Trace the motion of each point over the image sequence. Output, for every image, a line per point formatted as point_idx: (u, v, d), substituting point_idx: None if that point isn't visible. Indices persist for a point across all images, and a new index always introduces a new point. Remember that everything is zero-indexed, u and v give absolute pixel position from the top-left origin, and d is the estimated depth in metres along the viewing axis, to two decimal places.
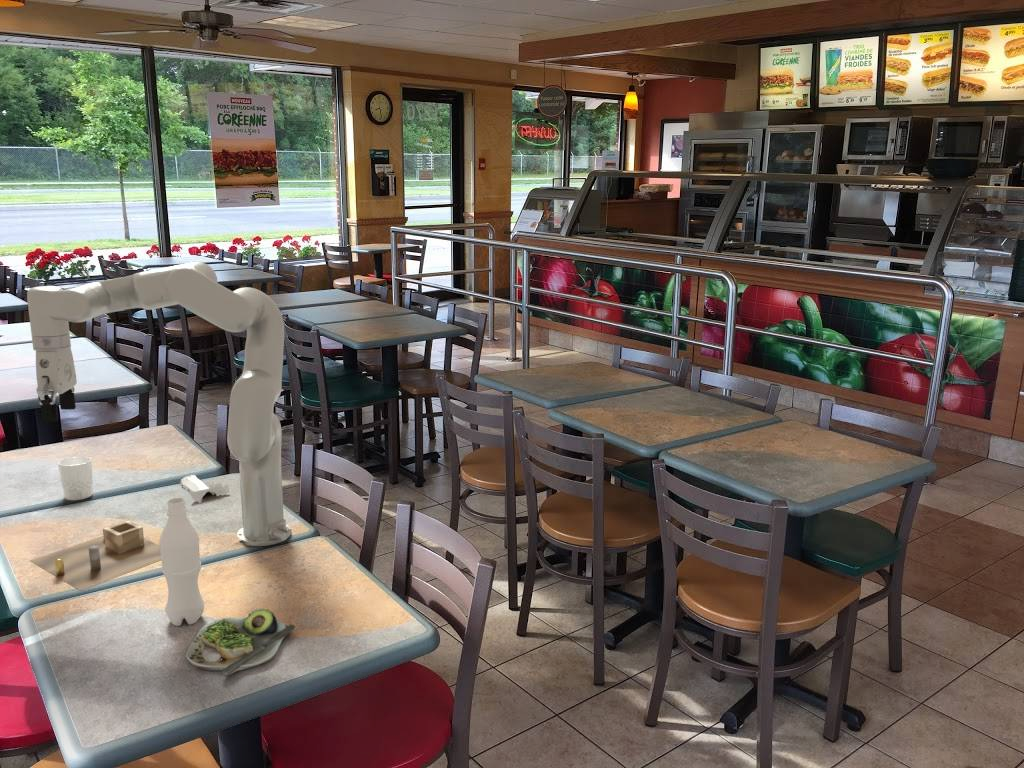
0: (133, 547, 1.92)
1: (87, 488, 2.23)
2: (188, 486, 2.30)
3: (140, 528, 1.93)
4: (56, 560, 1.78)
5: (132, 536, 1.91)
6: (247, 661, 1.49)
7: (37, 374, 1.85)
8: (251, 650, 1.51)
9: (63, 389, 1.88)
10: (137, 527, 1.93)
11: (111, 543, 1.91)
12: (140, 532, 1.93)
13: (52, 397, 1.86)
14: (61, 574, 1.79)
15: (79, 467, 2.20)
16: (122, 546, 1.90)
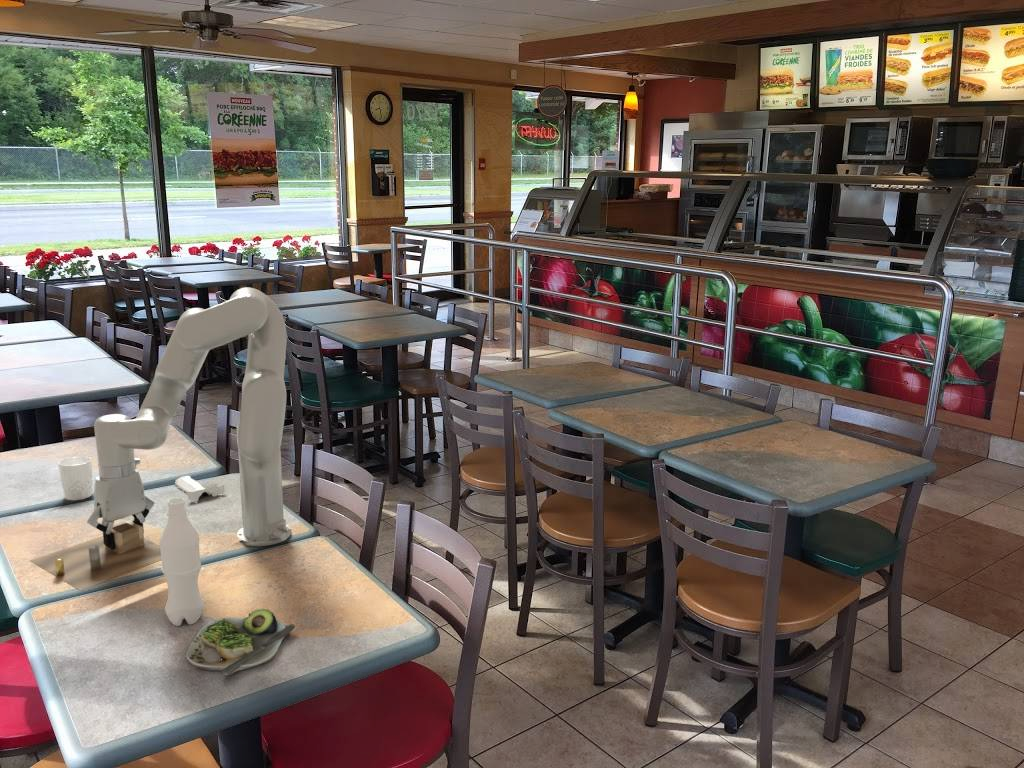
0: (133, 547, 1.92)
1: (87, 488, 2.23)
2: (183, 487, 2.30)
3: (140, 528, 1.93)
4: (56, 560, 1.78)
5: (132, 536, 1.91)
6: (247, 661, 1.49)
7: (143, 491, 1.93)
8: (251, 650, 1.51)
9: None
10: (137, 527, 1.93)
11: None
12: (140, 532, 1.93)
13: None
14: (61, 574, 1.79)
15: (79, 467, 2.20)
16: (122, 546, 1.90)
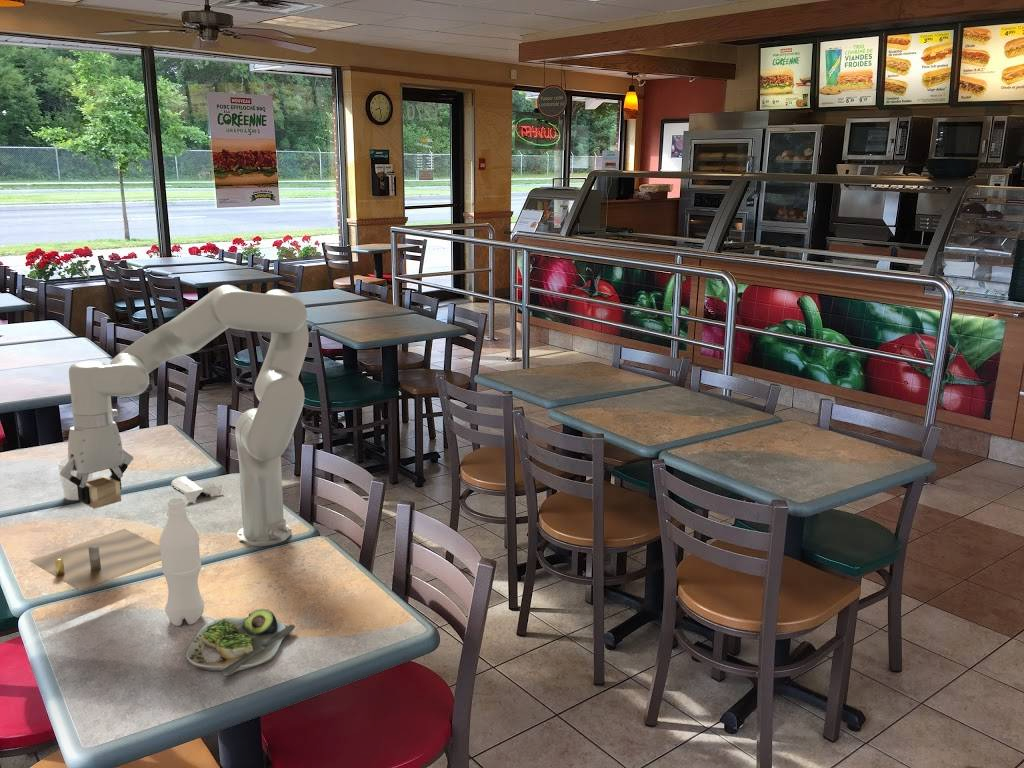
0: (109, 503, 1.82)
1: None
2: (180, 487, 2.29)
3: (117, 483, 1.82)
4: (56, 560, 1.78)
5: (108, 490, 1.81)
6: (247, 661, 1.49)
7: (121, 444, 1.83)
8: (251, 650, 1.51)
9: None
10: (114, 482, 1.82)
11: None
12: (116, 487, 1.83)
13: None
14: (61, 574, 1.79)
15: None
16: (97, 501, 1.80)
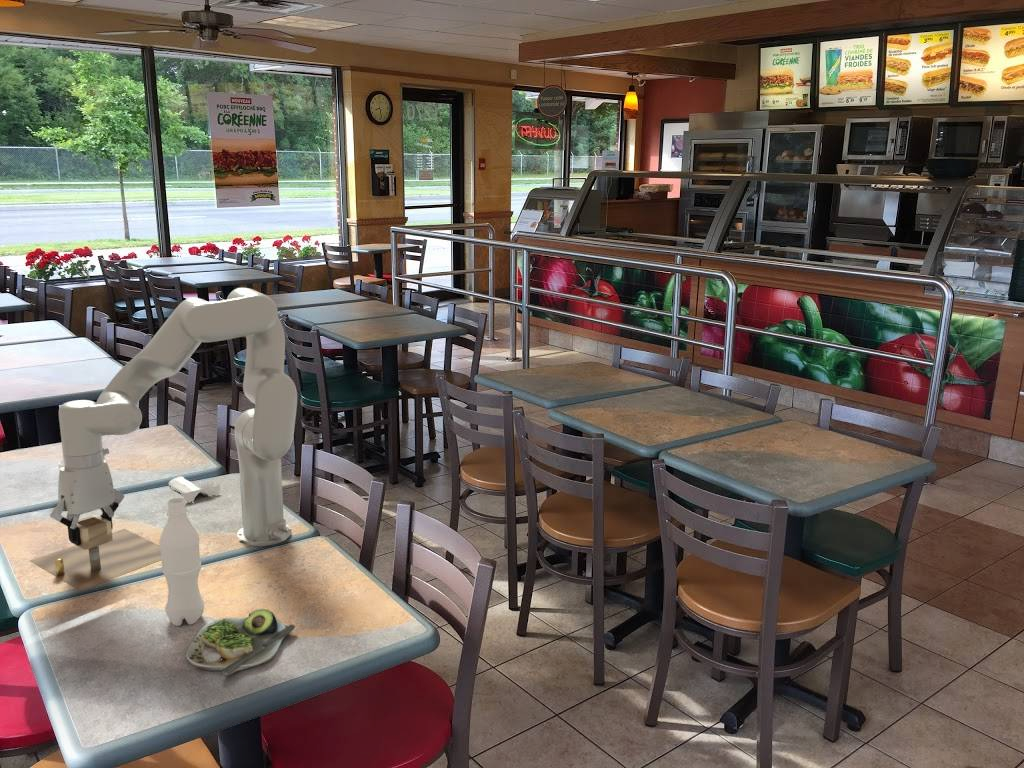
0: (100, 543, 1.79)
1: None
2: (178, 488, 2.29)
3: (108, 523, 1.80)
4: (56, 560, 1.78)
5: (99, 531, 1.78)
6: (246, 661, 1.49)
7: (112, 483, 1.80)
8: (251, 650, 1.51)
9: None
10: (105, 521, 1.80)
11: None
12: (108, 527, 1.80)
13: None
14: (61, 574, 1.79)
15: None
16: (88, 542, 1.77)
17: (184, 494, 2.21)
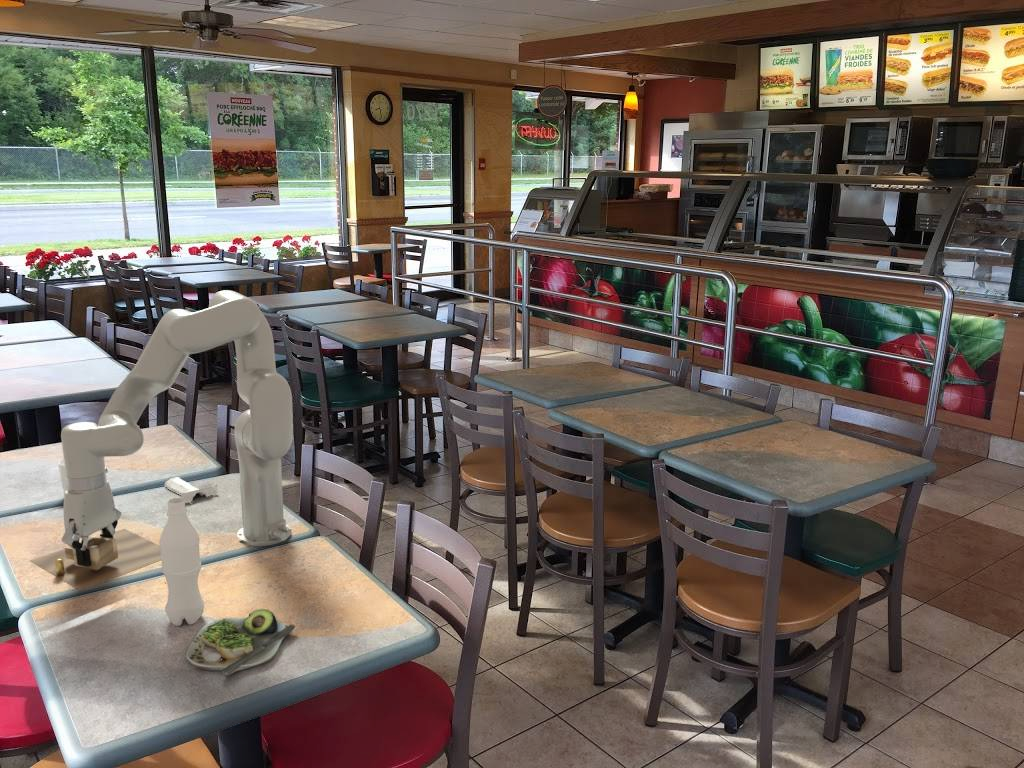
0: (108, 561, 1.81)
1: None
2: (175, 488, 2.28)
3: (114, 540, 1.82)
4: (56, 560, 1.78)
5: (107, 549, 1.81)
6: (246, 661, 1.49)
7: None
8: (251, 650, 1.51)
9: None
10: (110, 540, 1.82)
11: None
12: (114, 545, 1.82)
13: None
14: (61, 574, 1.79)
15: None
16: (99, 561, 1.79)
17: (182, 494, 2.21)
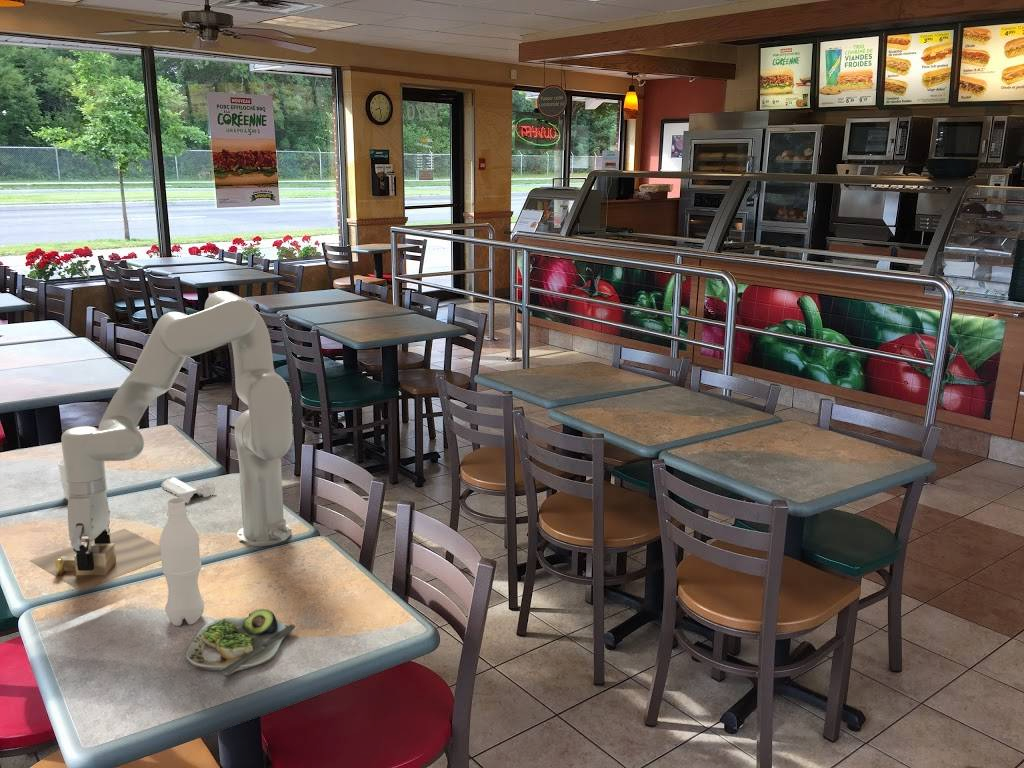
0: (111, 566, 1.83)
1: None
2: (172, 488, 2.28)
3: (113, 545, 1.84)
4: (56, 560, 1.78)
5: (110, 554, 1.82)
6: (246, 661, 1.49)
7: None
8: (251, 650, 1.51)
9: None
10: (109, 545, 1.83)
11: None
12: (113, 550, 1.84)
13: None
14: (61, 574, 1.79)
15: None
16: (106, 566, 1.80)
17: (180, 495, 2.21)
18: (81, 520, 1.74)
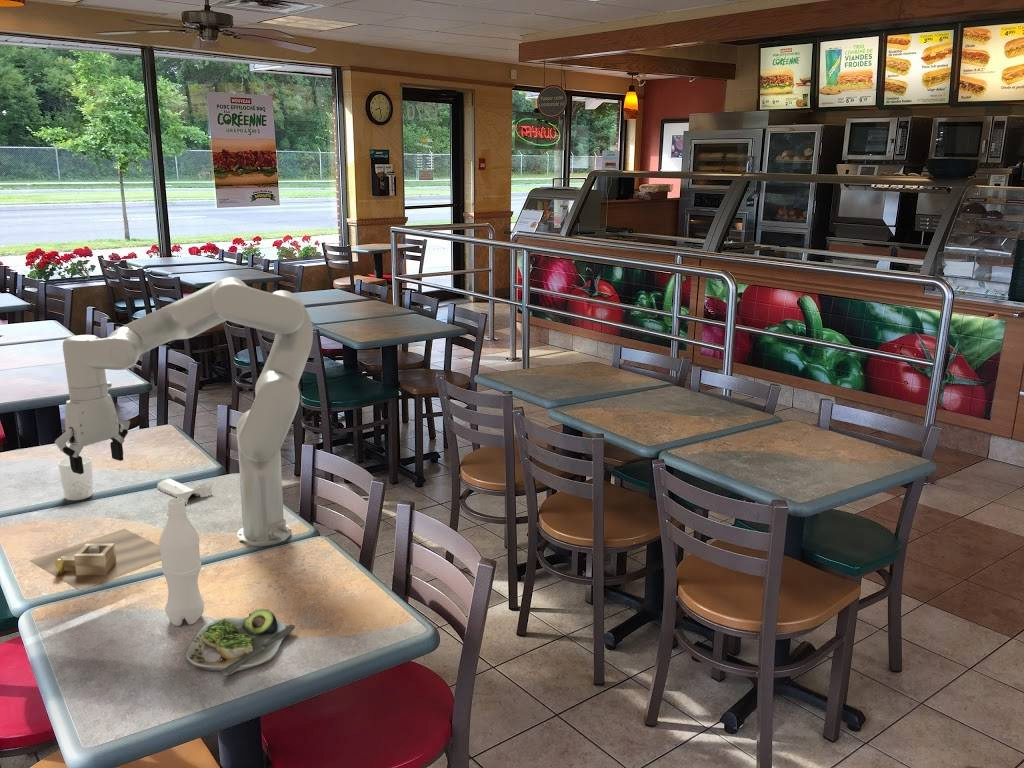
0: (111, 566, 1.83)
1: (87, 488, 2.23)
2: (168, 489, 2.27)
3: (113, 545, 1.84)
4: (56, 560, 1.78)
5: (110, 554, 1.82)
6: (246, 661, 1.49)
7: (116, 415, 1.87)
8: (251, 650, 1.51)
9: None
10: (109, 545, 1.83)
11: (89, 568, 1.79)
12: (113, 550, 1.84)
13: None
14: (61, 574, 1.79)
15: None
16: (106, 566, 1.80)
17: (178, 495, 2.20)
18: (71, 424, 1.80)
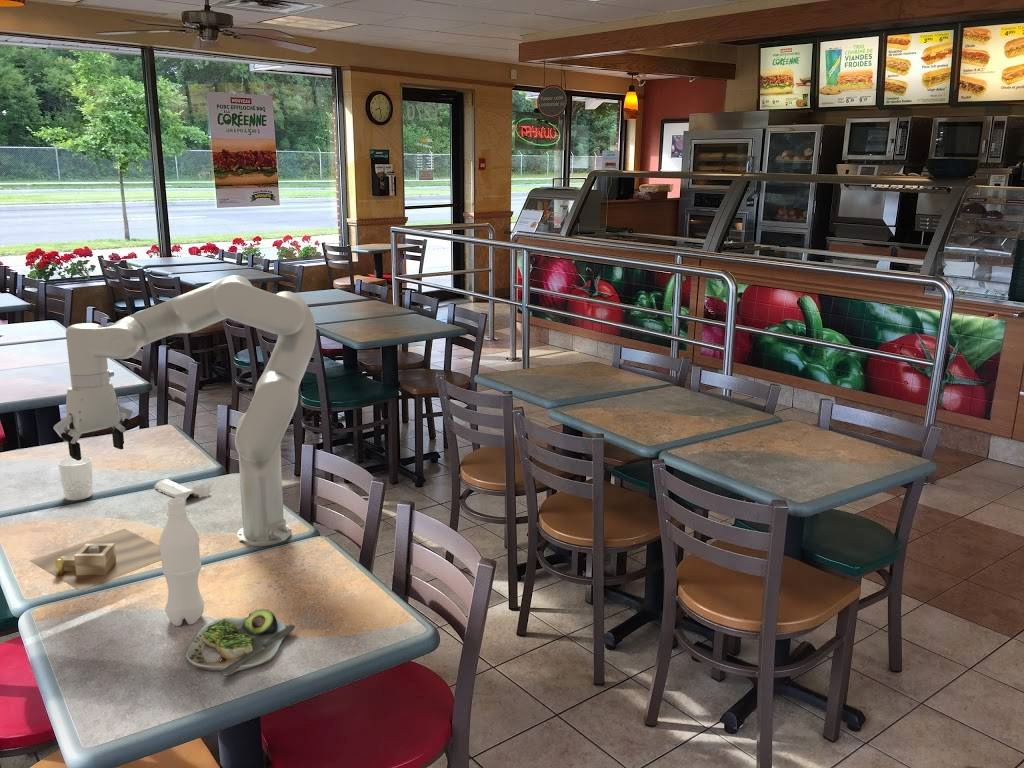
0: (111, 566, 1.83)
1: (87, 488, 2.23)
2: (166, 490, 2.27)
3: (113, 545, 1.84)
4: (56, 560, 1.78)
5: (110, 554, 1.82)
6: (246, 661, 1.49)
7: (117, 404, 1.89)
8: (251, 650, 1.51)
9: None
10: (109, 545, 1.83)
11: (89, 568, 1.79)
12: (113, 550, 1.84)
13: None
14: (61, 574, 1.79)
15: (79, 467, 2.20)
16: (106, 566, 1.80)
17: (176, 495, 2.20)
18: (71, 410, 1.82)
